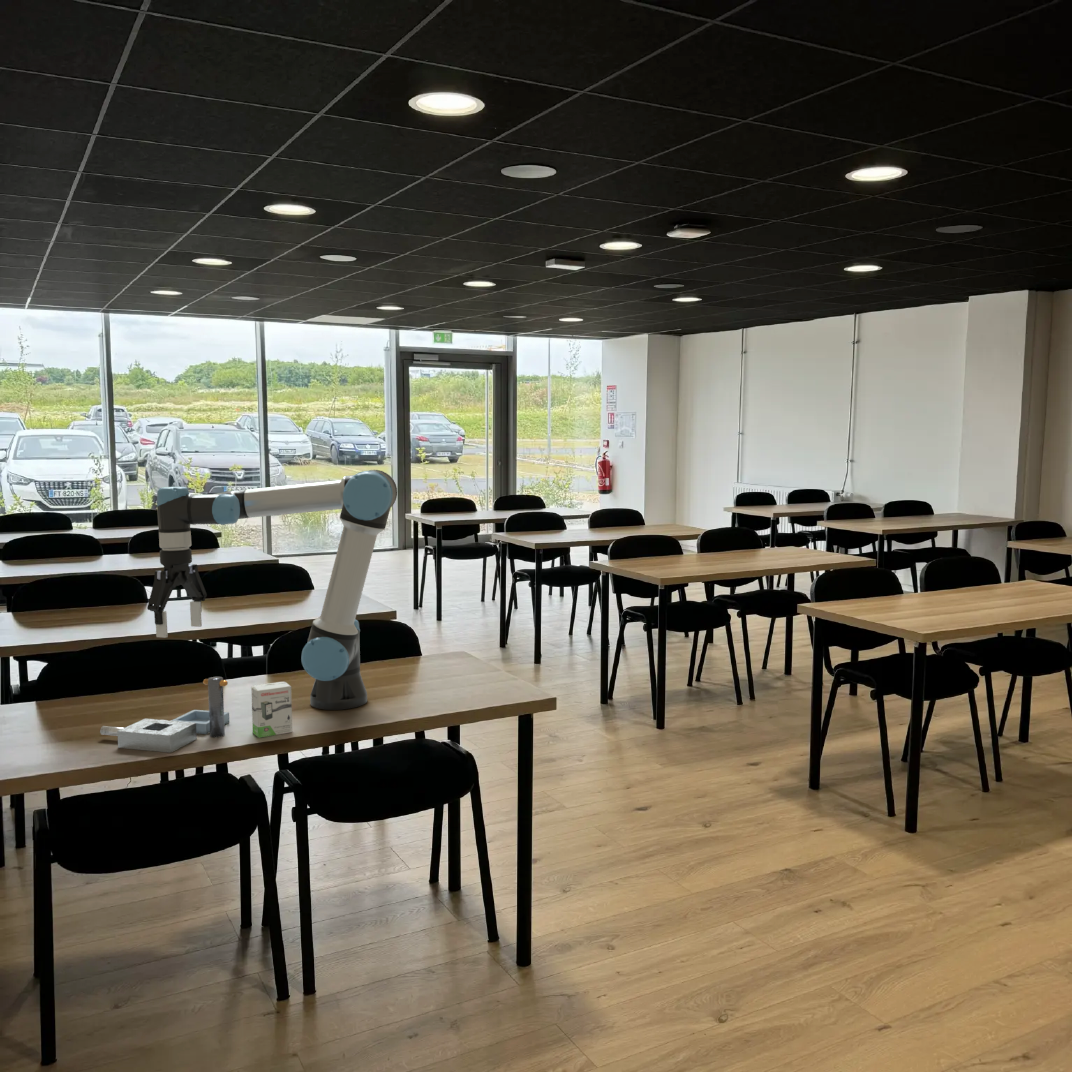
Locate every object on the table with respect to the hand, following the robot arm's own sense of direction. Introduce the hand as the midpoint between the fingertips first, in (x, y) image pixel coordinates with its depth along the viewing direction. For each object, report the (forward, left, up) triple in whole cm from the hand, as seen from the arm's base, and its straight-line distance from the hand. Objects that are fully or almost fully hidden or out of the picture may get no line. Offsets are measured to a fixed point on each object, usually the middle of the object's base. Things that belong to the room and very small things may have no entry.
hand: (179, 631), depth 242 cm
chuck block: (-2, +19, -23) cm, 29 cm away
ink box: (-28, +5, -23) cm, 37 cm away
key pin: (-16, +10, -23) cm, 29 cm away
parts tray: (-8, +5, -23) cm, 25 cm away
